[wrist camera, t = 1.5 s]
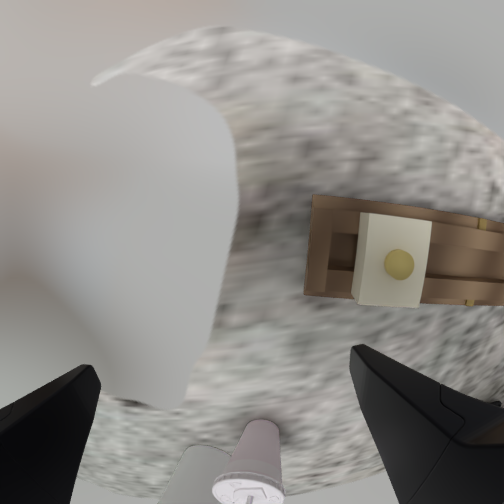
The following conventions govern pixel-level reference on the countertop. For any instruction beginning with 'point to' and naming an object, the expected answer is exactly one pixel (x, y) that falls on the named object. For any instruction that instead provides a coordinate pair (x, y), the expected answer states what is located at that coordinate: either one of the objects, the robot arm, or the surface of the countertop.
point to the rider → (390, 260)
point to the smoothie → (253, 468)
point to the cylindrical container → (195, 476)
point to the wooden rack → (439, 256)
